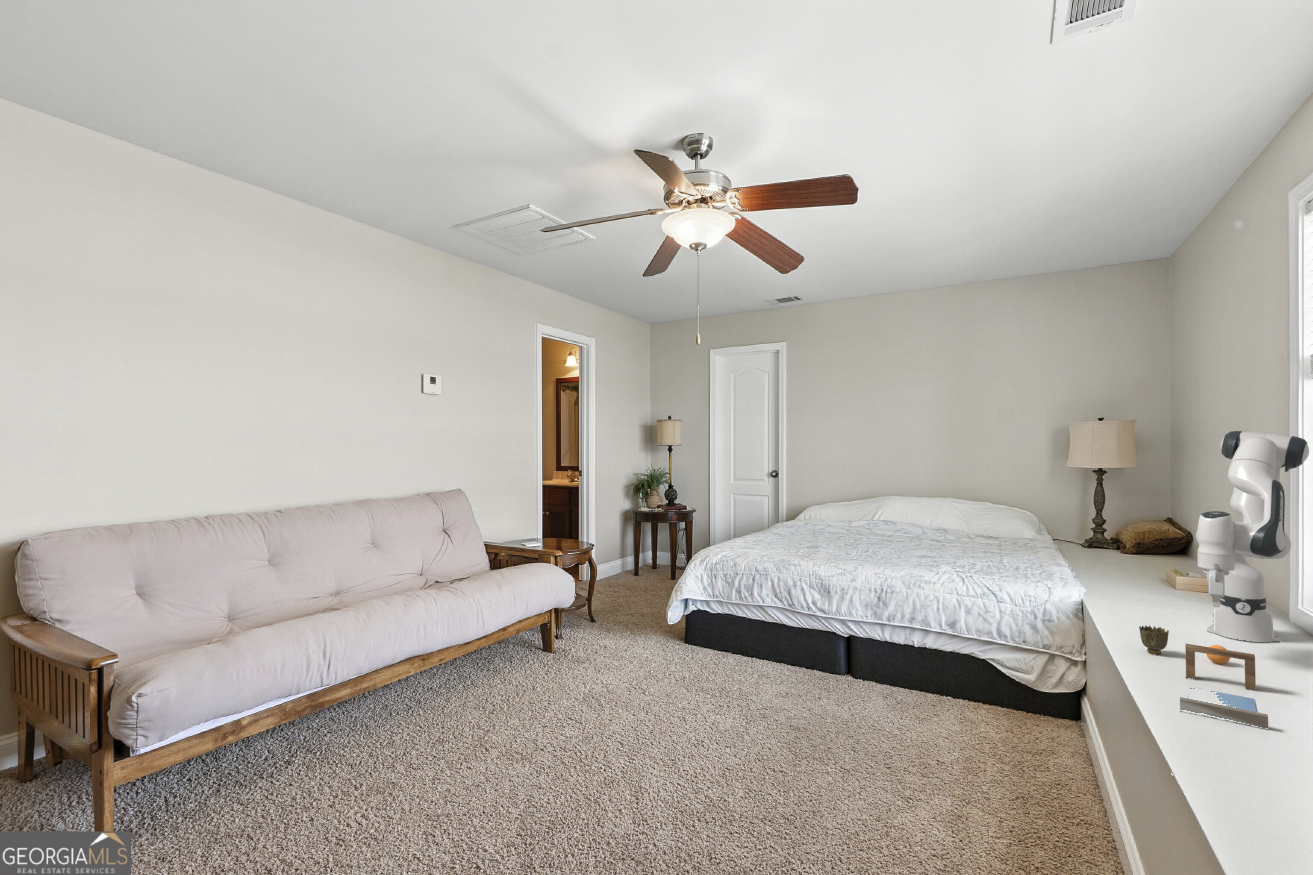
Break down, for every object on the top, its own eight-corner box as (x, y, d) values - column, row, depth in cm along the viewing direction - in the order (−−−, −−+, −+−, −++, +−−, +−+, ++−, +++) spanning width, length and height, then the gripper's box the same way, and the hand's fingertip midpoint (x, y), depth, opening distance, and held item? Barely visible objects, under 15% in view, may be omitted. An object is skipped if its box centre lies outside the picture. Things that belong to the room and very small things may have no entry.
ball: (1206, 658, 195) (1205, 641, 195) (1230, 662, 191) (1229, 644, 191) (1206, 663, 190) (1206, 645, 190) (1230, 667, 187) (1230, 649, 187)
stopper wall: (1180, 708, 159) (1180, 696, 159) (1267, 726, 149) (1267, 714, 149) (1180, 711, 158) (1179, 699, 158) (1268, 729, 147) (1268, 716, 147)
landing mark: (1189, 686, 173) (1189, 686, 173) (1253, 699, 164) (1253, 698, 164) (1188, 701, 163) (1188, 701, 163) (1257, 715, 154) (1257, 715, 154)
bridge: (1186, 674, 182) (1185, 643, 182) (1255, 687, 172) (1254, 654, 172) (1186, 677, 179) (1185, 646, 179) (1255, 690, 170) (1255, 657, 170)
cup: (1174, 657, 196) (1174, 632, 196) (1148, 656, 197) (1147, 631, 197) (1160, 650, 203) (1160, 625, 203) (1134, 648, 204) (1134, 624, 205)
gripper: (1230, 568, 188) (1230, 614, 188) (1228, 559, 204) (1228, 601, 204) (1202, 566, 193) (1203, 610, 192) (1202, 557, 208) (1202, 598, 208)
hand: (1216, 606), depth 198 cm, fingers closed
